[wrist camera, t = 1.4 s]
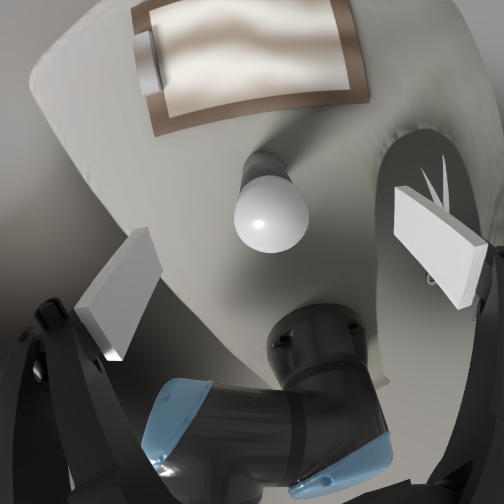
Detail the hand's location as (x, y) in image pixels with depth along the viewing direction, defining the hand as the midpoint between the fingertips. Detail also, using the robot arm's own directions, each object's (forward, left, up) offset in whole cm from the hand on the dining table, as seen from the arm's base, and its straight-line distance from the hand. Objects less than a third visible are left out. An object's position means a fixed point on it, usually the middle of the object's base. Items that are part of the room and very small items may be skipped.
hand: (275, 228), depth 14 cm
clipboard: (+14, -1, -16) cm, 21 cm away
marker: (0, 0, -16) cm, 16 cm away
